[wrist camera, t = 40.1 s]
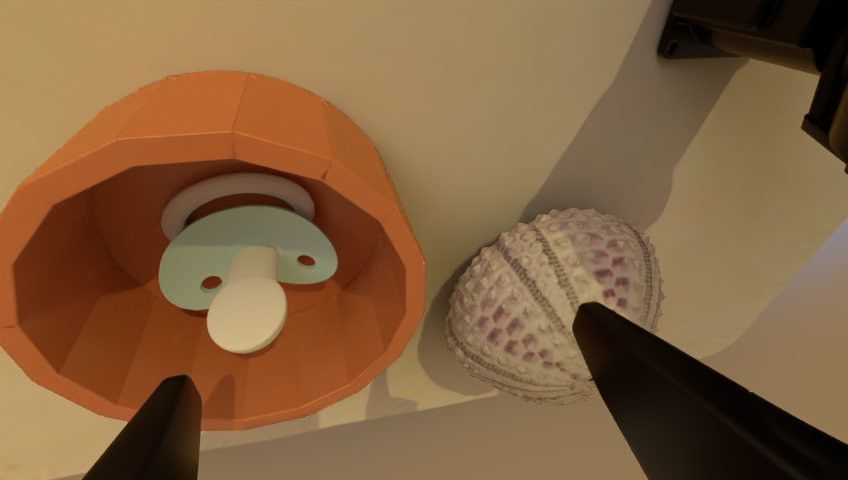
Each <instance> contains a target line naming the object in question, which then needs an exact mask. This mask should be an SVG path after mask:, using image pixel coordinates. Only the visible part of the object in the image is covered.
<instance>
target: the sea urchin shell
mask: <svg viewBox="0 0 848 480" xmlns="http://www.w3.org/2000/svg"><path fill="white" fill-rule="evenodd" d="M655 250H656V247H655V246H654V245H652V244H650V243H649V237H648V236H647V234H643V233H639V231H638V228H637V225H636V224H630V225H629V224H626V222H625V221H624V220H623V219H618V220H617V219H616V217H615V216H613V215H612V214H610V215H608V214H606V215H603V214H601V213H600V212H599V211H598V210H597V211H596V210H595V209H594V208H592V209H589V210H588V209H586V210H583V211H581V210H579V209H577V208H572V207H571V208H569V209H567V210H564V211H560V210H556V209H553V210H552V211H550V212H549V213H548V214H538V216H537V217H536V218H535V220H534V221H532V222H530V223H528V224H525V223H517V224H516V226H515V227H514V229H513V230H512V231H510V232H505V233H501V235H500V237H499V240H498V241H497V242H496V243H495V244H494V245H493V246H491V247H485V248H482V251H481V254H480V255H479V256H477V257H476V258H474V259H473V261H472V264H471V266H469V267H467V268H466V272H465V273H464V274H463V275H462V276H460V277H459V283H457V284H455V292H454V293H452V298H451V299H449V300H448V302H449V304H450V306H451V309H450V311H449V313H448V315H447V316H446V317H445V318H444V319H445V321H446V323H447V325H446V327H445V328H444V330H443V331H444V332H445V334H446V335H445V336H446V337H447V339H448V340H447V343H448V347H447V348H448V349H449V350H450V351H452V352H453V353H454V359H456V360H458V361H460V362H461V365H462V366H463V367H465V368H467V369H468V370H469V373H470V376H472V377H478V378H479V379H480V380H481V381H485V382H486V384H487V385H492V386H494V387H496V388H498V389H500V390H502V391H505V392H508V393H511V394H514V395H515V396H519V397H521V398H522V399H524V400H525V401H529V400H532V401H534V402H535V403H536V404H537V405H539V404H542V403H547V404H548V405H549V406H551V405H574V404H578V403H580V402H582V401H588V399H590V398H592V397H593V396H595V395H596V394H598V393H599V391H598V389H597V387H596V385H595V383H594V381H593V378H592V376H591V374H590V372H589V369H588V367H587V365H586V362H585V360H584V358H583V356H582V353H581V351H580V349H579V346H578V344H577V342H576V340H575V337H574V335H573V331H572V324H573V321H574V318H575V316H576V313H577V310H578V307H579V306H580V305H581V304H582V303H586V302H592V301H596V302H599V303H601V304H603V305H605V306H606V307H608V308H610V309H611V310H613V311H615V312H616V313H618V314H620V315H622V316H623V317H625V318H627V319H628V320H630V321H632V322H634V323H635V324H637V325H639V326H640V327H642V328H644V329H645V330H647V331H649V332H651V333H652V334H655V333H656V332H657V331H658V329H657V328H656V325H657V321H658V318H659V317H660V316H661V315H662V314H663V312H662V310H661V309H660V305H661V301H662V300H663V299H664V298H665V297H666V295H665V294H664V293H663V292H662V291H661V290H660V288H661V285H662V283H663V280H662V279H661V278H660V269H659V266H658V261H659V260H658V259H657V258H656V257H655V254H654V253H655Z"/></svg>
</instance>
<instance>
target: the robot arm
mask: <svg viewBox="0 0 848 480" xmlns="http://www.w3.org/2000/svg"><path fill="white" fill-rule="evenodd" d="M671 44H672V46H671V48H670V49H669V50H668V48H669V46H670V45H671ZM657 51H658V55H659V56H660V57H663V58H666V59H687V58H714V57H742V56H744V57H748V58H752V59H756V60H760V61H764V62H768V63H772V64H776V65H779V66H783V67H787V68H791V69H795V70H799V71H803V72H807V73H811V74H814V75H818V76H820V79H819V82H818V85H817V88H816V91H815V94H814V97H813V100H812V104H811V107H810V110H809V113H808V114H806V115H805V116H804V120H803V123H802V126H801V129H802V130H803V131H805V132H806V133H807V134H808V135H810V136H811V137H812V138H814V139H815V140H816V141H817V142H819V143H820V144H821V145H822V146H824V147H825V148H826V149H827V150H829V151H830V152H831V153H832V154H834V155H835V156H836V157H838V158H839V159H840V160H841V161H843V162H844V163H845V164H846V166H845V170H844V171H845V173H846V174H848V0H674V1H673V4H672V7H671V10H670V13H669V16H668V19H667V22H666V25H665V28H664V31H663V34H662V37H661V40H660V43H659V46H658V50H657ZM572 331H573V335H574V337H575V340H576V342H577V344H578V346H579V349H580V351H581V353H582V356H583V358H584V360H585V362H586V365H587V367H588V369H589V372H590V374H591V376H592V378H593V381H594V383H595V385H596V387H597V389H598V391H599V393H600V394H601V397H602V398H603V400H604V402H605V404H606V405H607V407H608V409H609V411H610V413H611V414H612V416H613V418H614V420H615V421H616V423H617V425H618V427H619V429H620V430H621V432H622V434H623V436H624V437H625V439H626V441H627V443H628V444H629V446H630V448H631V450H632V452H633V453H634V455H635V457H636V458H637V460H638V462H639V464H640V466H641V468H642V469H643V471H644V473H645V474H646V476H647V478H648V480H848V444H845V443H844V442H842V441H840V440H838V439H836V438H834V437H832V436H830V435H828V434H826V433H825V432H822V431H821V430H819V429H817V428H815V427H813V426H811V425H809V424H807V423H806V422H804V421H802V420H800V419H798V418H796V417H795V416H793V415H791V414H789V413H788V412H786V411H784V410H782V409H781V408H779V407H777V406H775V405H774V404H772V403H770V402H768V401H767V400H765V399H763V398H762V397H759V396H758V395H756V394H755V393H753V392H749V390H748V389H746V388H744V387H743V386H741V385H739V384H737V383H736V382H734V381H732V380H731V379H729V378H727V377H726V376H724V375H722V374H720V373H719V372H717V371H715V370H714V369H712V368H710V367H708V366H707V365H705V364H703V363H702V362H700V361H698V360H697V359H695V358H693V357H691V356H690V355H688V354H686V353H685V352H683V351H681V350H680V349H678V348H676V347H674V346H673V345H671V344H669V343H668V342H666V341H664V340H662V339H661V338H659V337H657V336H656V335H654V334H652V333H651V332H649V331H647V330H645V329H644V328H642V327H640V326H639V325H637V324H635V323H634V322H632V321H630V320H628V319H627V318H625V317H623V316H622V315H620V314H618V313H616V312H615V311H613V310H611V309H610V308H608V307H606V306H605V305H603V304H601V303H599V302H596V301H592V302H586V303H582V304H581V305H580V306H579V307H578V310H577V313H576V316H575V318H574V321H573V324H572ZM201 417H202V399H201V396H200V394H199V392H198V390H197V388H196V386H195V384H194V382H193V380H192V378H191V377H190V376H189V375H188V374H182V375H176V376H170V377H167V378H165V379H164V380H163V381H162V382H161V383H160V384H159V386H158V387H157V388H156V389H155V391H154V392H153V393H152V394H151V395H150V397H149V398H148V399H147V400H146V402H145V403H144V404H143V405H142V406H141V408H140V409H139V410H138V411H137V413H136V414H135V415H134V416H133V417H132V419H131V420H130V421H129V422H128V424H127V425H126V426H125V427H124V429H123V430H122V431H121V432H120V433H119V435H118V436H117V437H116V438H115V440H114V441H113V442H112V443H111V444H110V446H109V447H108V448H107V449H106V451H105V452H104V453H103V454H102V455H101V457H100V458H99V459H98V460H97V462H96V463H95V464H94V465H93V466H92V468H91V469H90V470H89V471H88V473H87V474H86V475H85V476H84V478H83V479H82V480H197V474H198V462H199V447H200V432H201Z"/></svg>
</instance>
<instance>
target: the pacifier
mask: <svg viewBox="0 0 848 480" xmlns="http://www.w3.org/2000/svg"><path fill="white" fill-rule="evenodd" d="M241 193H260V194H266V195H271V196H275V197H277V198H280V199H283V200H285V201H286V202H287V203H289V204H290V205H291V206H293V208H294V210H295V211H296V212H294V211H292V210H289V209H286V208H282V207H277V206H271V205H241V206H234V207H229V208H225V209H222V210H218V211H215V212H212V213H210V214H208V215H206V216H204V217H202V218H200V219H198V220H196V221H194V222H193V223H191V224H190V225H188V226H187V223H186V219H187V217H188V216H189V215H190V213H191V212H193V211H194V210H195V209H197V208H198V207H199V206H201V205H203V204H205V203H207V202H209V201H211V200H213V199H216V198H220V197H223V196H227V195H233V194H241ZM314 215H315V204H314V201H313V199H312V198H311V196H310V194H309V193H308V192H307V191H306V190H305V189H304V188H302V187H301V186H300V185H299V184H297V183H295V182H293V181H290V180H288V179H286V178H284V177H280V176H276V175H271V174H266V173H251V172H242V173H233V174H224V175H220V176H216V177H213V178H209V179H205V180H202V181H200V182H198V183H196V184H194V185H192V186H190V187H187V188H185V189H184V190H182V191H181V192H180V193H178V194H177V195H176V196H175V197H173V198H172V199H171V200H170V201H169V203H168V204H167V206H166V207H165V209H164V210H163V212H162V218H161V226H162V229H163V233H164V235H165V236H166V237H167V238H168V239H169V240H170V244H169V245H168V247H167V248H166V250H165V251H164V254H163V256H162V259H161V262H160V269H159V285H160V288H161V291H162V293H163V294H164V296H165V298H166V299H167V300H169V301H170V302H171V303H172V304H174V305H176V306H178V307H180V308H184V309H191V310H203V309H209V311H208V315H207V328H208V332H209V334H210V336H211V338H212V339H213V341H214V342H215V343H216V344H217V345H219V346H220V347H221V348H223V349H225V350H227V351H229V352H234V353H251V352H255V351H257V350H260V349H262V348H264V347H266V346H267V345H268V344H270V343H271V342H272V341H273V340H274V339H275V338H276V337H277V336H278V334H279V333H280V332H281V330H282V328H283V326H284V323H285V321H286V317H287V299H286V295H285V293H284V290H283V288H282V287H281V285H280V284H279V283H278V282H277V281H280V282H285V283H292V284H312V283H317V282H322V281H324V280H326V279H328V278H330V277H331V276H332V275H333V274H334V273H335V271H336V269H337V265H338V262H337V254H336V251H335V248H334V246H333V244H332V242H331V241H330V239H329V238H328V237H327V235H326V234H325V233H324V232H323V231H322V230H321V229H320V228H319V227H318V226H317V225H316V224H315V223H314V222H312V220H313V218H314ZM301 255H307V256H310V257H311V258H313V259H314V260H315V264H314V265H312V266H305V265H303V264H301V263H300V262H299V261H298V259H297V258H298V257H299V256H301ZM210 276H218V277H220V278H221V279H222V283H221V284H220V285H219V286H218V287H216V288H214V289H206V288H204V287H203V286H202V281H203V280H204V279H206V278H207V277H210Z"/></svg>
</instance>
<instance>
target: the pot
mask: <svg viewBox="0 0 848 480" xmlns="http://www.w3.org/2000/svg"><path fill="white" fill-rule="evenodd" d="M242 172H251V173H266V174H271V175H276V176H280V177H284V178H286V179H288V180H290V181H293V182H295V183H297V184H299V185H300V186H301V187H302V188H304V189H305V190H306V191H307V192H308V193H309V194H310V196H311V198H312V199H313V201H314V204H315V215H314V218H313V220H312V222H314V223H315V224H316V225H317V226H318V227H319V228H320V229H321V230H322V231H323V232H324V233H325V234H326V235H327V237H328V238H329V239H330V241H331V242H332V244H333V246H334V248H335V251H336V254H337V262H338V265H337V269H336V271H335V273H334V274H333V275H332V276H331V277H330V278H328V279H326V280H324V281H322V282H317V283H312V284H292V283H285V282H280V281H277V282H278V283H279V284H280V285H281V287H282V288H283V290H284V293H285V295H286V299H287V317H286V321H285V323H284V326H283V328H282V330H281V332H280V333H279V334H278V336H277V337H276V338H275V339H274V340H273V341H272V342H271V343H270V344H268V345H267V346H266V347H264V348H262V349H260V350H257V351H255V352H251V353H234V352H229V351H227V350H225V349H223V348H221V347H220V346H219V345H217V344H216V343H215V342H214V341H213V339H212V338H211V336H210V334H209V332H208V328H207V315H208V311H209V309H203V310H191V309H184V308H180V307H178V306H176V305H174V304H172V303H171V302H170V301H169V300H167V299H166V298H165V296H164V294H163V293H162V291H161V288H160V285H159V269H160V262H161V259H162V256H163V254H164V251H165V250H166V248H167V247H168V245H169V244H170V240H169V239H168V238H167V237H166V236H165V235H164V233H163V229H162V226H161V218H162V212H163V210H164V209H165V207H166V206H167V204H168V203H169V201H170V200H171V199H172V198H173V197H175V196H176V195H177V194H178V193H180V192H181V191H182V190H184V189H185V188H187V187H190V186H192V185H194V184H196V183H198V182H200V181H202V180H205V179H209V178H213V177H216V176H220V175H224V174H233V173H242ZM241 205H271V206H277V207H282V208H286V209H289V210H292V211H294V212H296V211H295V210H294V208H293V206H291V205H290V204H289V203H287V202H286V201H285V200H283V199H280V198H277V197H275V196H271V195H266V194H260V193H241V194H233V195H227V196H223V197H220V198H216V199H213V200H211V201H209V202H207V203H205V204H203V205H201V206H199V207H198V208H197V209H195V210H194V211H193V212H191V213H190V215H189V216H188V217H187V219H186V223H187V226H188V225H190V224H191V223H193V222H194V221H196V220H198V219H200V218H202V217H204V216H206V215H208V214H210V213H212V212H215V211H218V210H222V209H225V208H229V207H234V206H241ZM297 259H298V261H299V262H300V263H301V264H303V265H305V266H312V265H314V264H315V260H314V259H313V258H311V257H310V256H307V255H301V256H299V257H298V258H297ZM425 280H426V261H425V258H424V255H423V253H422V250H421V248H420V246H419V243H418V241H417V239H416V236H415V234H414V232H413V229H412V227H411V224H410V222H409V220H408V217H407V215H406V213H405V210H404V208H403V206H402V203H401V201H400V198H399V196H398V194H397V191H396V189H395V187H394V184H393V182H392V180H391V178H390V176H389V174H388V172H387V170H386V168H385V166H384V164H383V162H382V160H381V158H380V156H379V154H378V152H377V150H376V148H375V146H374V144H373V142H372V141H371V140H370V138H369V137H368V136H366V135H365V134H364V133H363V132H362V131H361V129H360V128H359V127H358V126H357V125H356V124H355V123H354V122H352V121H351V120H350V119H349V118H348V117H347V116H346V115H345V114H344V113H342V112H341V111H340V110H338V109H337V108H336V107H334V106H333V105H332V104H330V103H329V102H327V101H325V100H324V99H322V98H321V97H319V96H317V95H315V94H313V93H311V92H309V91H307V90H305V89H302V88H300V87H298V86H295V85H293V84H290V83H288V82H285V81H281V80H278V79H274V78H271V77H267V76H264V75H258V74H252V73H245V72H238V71H205V72H195V73H187V74H182V75H172V76H170V77H166V78H164V79H162V80H160V81H157V82H155V83H152V84H150V85H147V86H145V87H142V88H140V89H138V90H136V91H135V92H133V93H131V94H130V95H128V96H126V97H125V98H123V99H121V100H120V101H117V102H115V103H113V104H111V105H109V106H107V107H105V108H104V109H103V110H102V111H100V112H99V113H98V114H97V115H96V116H95V117H94V118H93V119H92V120H91V121H89V122H88V123H87V124H86V125H85V126H84V127H83V128H82V129H81V130H80V131H78V132H77V133H76V134H75V135H74V136H73V137H72V138H71V139H70V140H68V141H67V142H66V143H65V144H64V145H63V146H62V147H61V148H60V149H59V150H57V151H56V152H55V153H54V154H53V155H52V156H51V157H50V158H49V159H48V160H46V161H45V162H44V163H43V164H42V165H41V166H40V167H39V168H38V169H36V170H35V171H34V172H33V173H32V174H31V175H30V176H29V177H28V178H27V179H25V180H24V181H23V182H22V183H21V184H20V185H19V186H18V187H17V189H16V190H15V192H14V193H13V195H12V196H11V198H10V200H9V201H8V203H7V204H6V206H5V207H4V209H3V211H2V212H1V214H0V346H1V347H2V348H3V349H4V350H5V351H6V352H7V353H8V355H9V356H10V357H11V358H12V359H13V360H14V361H15V362H16V364H17V365H18V366H19V367H20V368H21V369H22V370H23V371H24V372H25V374H26V375H27V376H28V377H29V378H30V379H31V380H32V381H33V382H35V383H36V384H38V385H40V386H42V387H44V388H46V389H48V390H50V391H52V392H54V393H56V394H58V395H60V396H62V397H64V398H66V399H68V400H70V401H72V402H74V403H76V404H78V405H80V406H82V407H84V408H86V409H88V410H90V411H92V412H94V413H96V414H98V415H103V416H104V417H109V418H113V419H118V420H123V421H128V422H129V421H130V420H131V419H132V417H133V416H134V415H135V414H136V413H137V411H138V410H139V409H140V408H141V406H142V405H143V404H144V403H145V402H146V400H147V399H148V398H149V397H150V395H151V394H152V393H153V392H154V391H155V389H156V388H157V387H158V386H159V384H160V383H161V382H162V381H163V380H164V379H165V378H167V377H170V376H176V375H182V374H188V375H189V376H190V377H191V378H192V380H193V382H194V384H195V386H196V388H197V390H198V392H199V394H200V396H201V399H202V417H201V431H217V430H243V429H244V430H247V429H252V428H257V427H261V426H266V425H270V424H275V423H279V422H284V421H288V420H293V419H298V418H302V417H305V416H309V415H311V414H313V413H315V412H317V411H319V410H321V409H323V408H326V407H328V406H330V405H332V404H334V403H336V402H338V401H341V400H343V399H345V398H347V397H349V396H351V395H353V394H355V393H358V392H359V391H360V390H362V389H363V388H364V387H365V386H366V385H368V384H369V383H370V382H371V381H372V380H373V379H375V378H376V377H377V376H378V375H379V374H380V373H382V372H383V371H384V370H385V369H386V368H387V367H389V366H390V365H391V364H392V363H393V362H394V361H396V360H397V359H398V358H399V357H400V356H401V354H402V353H403V351H404V349H405V347H406V345H407V344H408V342H409V340H410V338H411V336H412V335H413V333H414V331H415V329H416V327H417V326H418V324H419V322H420V320H421V318H422V317H423V315H424V305H425ZM221 283H222V279H221V278H220V277H218V276H210V277H207V278H206V279H204V280H203V281H202V286H203V287H204V288H206V289H214V288H216V287H218V286H219V285H220V284H221Z"/></svg>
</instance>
